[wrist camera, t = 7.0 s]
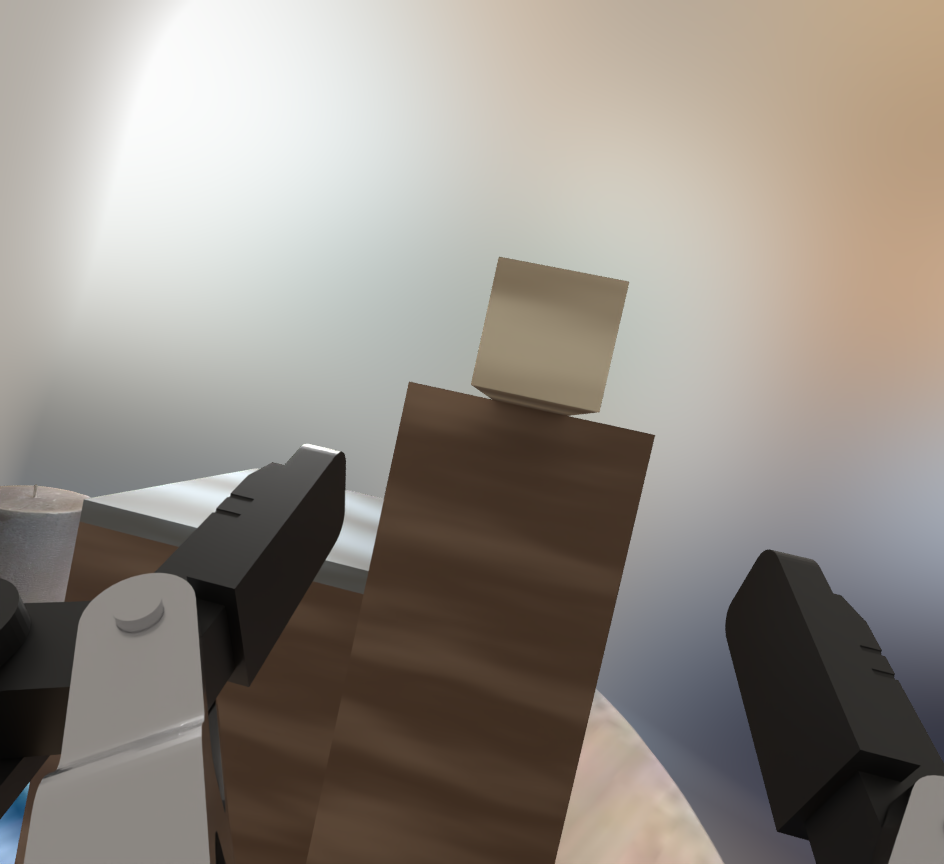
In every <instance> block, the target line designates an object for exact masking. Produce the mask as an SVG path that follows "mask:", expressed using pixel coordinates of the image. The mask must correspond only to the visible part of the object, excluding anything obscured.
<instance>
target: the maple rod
mask: <svg viewBox="0 0 944 864" xmlns="http://www.w3.org/2000/svg"><path fill="white" fill-rule="evenodd" d="M628 285H629V282H628V281H623V280H618V279H613V278H607V277H602V276H597V275H591V274H587V273H581V272H576V271H571V270H566V269H561V268H555V267H550V266H545V265H540V264H535V263H529V262H524V261H519V260H514V259H509V258H503V257H499V259H498V263H497V268H496V272H495V277H494V281H493V286H492V291H491V295H490V300H489V305H488V309H487V314H486V318H485V323H484V327H483V332H482V336H481V341H480V345H479V350H478V355H477V359H476V364H475V368H474V373H473V377H472V383H471V385H472V386H474V387H475V388H477V389H478V390H480V391H481V392H482V393H484V394H485V395H487V396H488V397H489V398H491V399H492V400H496V401H500V402H505V403H510V404H514V405H519V406H523V407H528V408H533V409H537V410H542V411H546V412H551V413H556V414H560V415H565V416H570V415H579V414H588V413H596V412H600V407H601V403H602V399H603V394H604V389H605V385H606V381H607V376H608V372H609V368H610V363H611V359H612V355H613V350H614V346H615V342H616V338H617V333H618V329H619V324H620V320H621V316H622V311H623V307H624V302H625V298H626V294H627V290H628Z"/></svg>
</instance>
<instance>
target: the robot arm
mask: <svg viewBox="0 0 944 864" xmlns="http://www.w3.org/2000/svg"><path fill="white" fill-rule="evenodd" d="M345 476H346V458H345V454H344V453H343V452H341V451H337V450H333V449H328V448H324V447H319V446H315V445H311V444H304V445H302V446H301V447H300V448H299V449H298V450H297V452H296V453H295V454H294V455H293V456H292V457H291V458H290V459H289V461H288V462H287V463H286V464H285V465H282V464H277V463H273V462H272V463H271V464H269V465H267V466H265V467H263V468H261V469H259V470H257V471H255V472H253V473H251V474H249V475H248V476H247V477H246V478H245V479H244V480H243V481H242V482H241V483H240V484H239V485H238V486H237V487H236V488H235V489H234V490H233V491H232V492H231V495H230V497H227V498H226V499H225V500H224V501H223V502H222V503H221V504H220V505H219V506H218V507H217V508H216V511H215V513H214V512H212V513H211V514H210V515H209V516H208V517H207V518H206V519H205V520H204V521H203V523H202V524H201V525H200V526H199V527H198V528H197V529H196V530H195V531H194V532H193V533H192V534H191V535H190V536H189V537H188V538H187V539H186V540H185V541H184V542H183V543H182V544H181V545H180V546H179V548H178V549H177V550H176V551H175V552H174V553H173V554H172V555H171V556H170V557H169V558H168V559H167V560H166V561H165V562H164V563H163V564H162V565H161V566H160V567H159V568H158V569H157V570H156V571H155V572H154V573H148V574H142V575H138V576H134V577H130V578H128V579H125V580H122V581H120V582H118V583H116V584H114V585H112V586H111V587H109V588H107V589H106V590H104V591H103V592H102V593H100V594H99V595H98V596H97V597H95V598H94V599H93V600H91V601H76V602H42V603H23V601H22V599H21V597H20V595H19V592H18V590H17V588H16V587H15V586H14V585H13V584H12V583H11V582H9V581H7V580H5V579H1V578H0V819H1V818H2V816H3V815H4V814H5V813H6V811H7V810H8V809H9V807H10V806H11V805H12V804H13V802H14V801H15V800H16V798H17V797H18V796H19V795H20V793H21V792H22V791H23V790H24V788H25V787H26V786H27V784H28V783H29V782H30V781H31V779H32V778H33V777H34V775H35V774H36V773H37V772H38V770H39V769H40V768H41V767H42V765H43V764H44V763H45V761H46V760H47V759H48V758H49V756H50V755H58V754H61V758H60V762H59V765H58V768H57V770H56V771H54V772H51V773H48V774H47V775H45V776H44V778H43V779H42V780H41V782H40V784H39V787H38V790H37V792H36V796H35V800H34V804H33V809H32V815H31V821H30V827H29V834H28V840H27V846H26V852H25V859H24V864H235V857H234V851H233V844H232V838H231V830H230V822H229V813H228V803H227V792H226V782H225V772H224V761H223V751H222V741H221V730H220V720H219V710H218V703H217V696H218V695H219V693H220V692H221V690H222V689H223V687H224V685H225V684H226V682H227V681H228V682H232V683H235V684H239V685H243V686H246V687H250V685H251V683H252V682H253V680H254V678H255V677H256V675H257V673H258V672H259V670H260V668H261V667H262V665H263V663H264V662H265V660H266V658H267V657H268V655H269V653H270V652H271V650H272V648H273V647H274V645H275V643H276V642H277V640H278V638H279V637H280V635H281V633H282V632H283V630H284V628H285V627H286V625H287V623H288V622H289V620H290V618H291V617H292V615H293V613H294V612H295V610H296V608H297V607H298V605H299V603H300V602H301V600H302V598H303V597H304V595H305V593H306V592H307V590H308V588H309V587H310V585H311V583H312V582H313V580H314V578H315V577H316V575H317V573H318V572H319V570H320V568H321V567H322V565H323V563H324V562H325V560H326V558H327V557H328V555H329V553H330V552H331V550H332V548H333V547H334V545H335V543H336V541H337V539H338V537H339V535H340V532H341V529H342V526H343V522H344V516H345V480H346V477H345ZM725 627H726V628H725V630H726V638H727V642H728V646H729V650H730V654H731V657H732V661H733V665H734V669H735V673H736V677H737V681H738V684H739V688H740V692H741V696H742V700H743V704H744V707H745V711H746V715H747V719H748V723H749V726H750V730H751V734H752V738H753V742H754V746H755V749H756V753H757V757H758V761H759V765H760V769H761V772H762V776H763V780H764V784H765V788H766V791H767V795H768V799H769V803H770V807H771V810H772V814H773V818H774V822H775V826H776V830H777V832H781V833H784V834H787V835H791V836H794V837H798V838H802V839H805V840H809V841H810V845H811V848H812V851H813V855H814V857H815V861H816V864H944V763H943V761H942V759H941V757H940V756H939V754H938V752H937V750H936V748H935V747H934V745H933V743H932V741H931V739H930V737H929V736H928V734H927V732H926V730H925V728H924V726H923V725H922V723H921V721H920V719H919V718H918V716H917V714H916V712H915V710H914V708H913V706H912V705H911V703H910V701H909V699H908V697H907V695H906V694H905V692H904V690H903V689H902V686H901V684H900V683H899V681H898V680H895V679H894V675H895V673H894V672H893V670H892V668H891V666H890V664H889V663H888V661H887V659H886V657H885V656H882V655H881V651H882V650H881V648H880V646H879V644H878V643H877V641H876V639H875V637H874V635H873V633H872V632H871V630H870V628H869V626H868V625H867V622H866V621H865V620H864V619H863V618H862V617H861V616H860V615H859V614H858V613H857V612H856V611H855V610H854V609H853V608H852V606H851V605H850V604H849V603H848V602H847V601H846V600H845V599H844V598H843V597H842V596H841V595H837V594H833V592H832V590H831V588H830V586H829V584H828V582H827V580H826V578H825V577H824V575H823V573H822V571H821V569H820V567H819V565H818V564H817V563H816V562H815V561H814V560H812V559H808V558H804V557H799V556H795V555H790V554H786V553H782V552H778V551H774V550H765V551H764V552H762V553H761V554H760V556H759V557H758V558H757V560H756V562H755V564H754V565H753V567H752V569H751V570H750V572H749V574H748V575H747V577H746V579H745V580H744V582H743V584H742V586H741V587H740V589H739V590H738V592H737V594H736V595H735V597H734V599H733V600H732V602H731V604H730V606H729V609H728V612H727V617H726V625H725Z"/></svg>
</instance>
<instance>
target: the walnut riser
mask: <svg viewBox="0 0 944 864" xmlns="http://www.w3.org/2000/svg"><path fill="white" fill-rule="evenodd" d="M654 437H655V435H652V434H648V433H643V432H639V431H634V430H629V429H625V428H620V427H615V426H611V425H606V424H602V423H597V422H592V421H588V420H583V419H578V418H574V417H569V416H565V415H560V414H556V413H551V412H546V411H542V410H537V409H533V408H528V407H523V406H519V405H514V404H510V403H505V402H500V401H496V400H491V399H486V398H482V397H477V396H473V395H468V394H463V393H459V392H454V391H450V390H445V389H441V388H436V387H431V386H427V385H422V384H417V383H413V382H409V384H408V389H407V394H406V398H405V403H404V408H403V413H402V417H401V422H400V426H399V431H398V436H397V440H396V445H395V450H394V454H393V459H392V464H391V468H390V473H389V478H388V482H387V487H386V492H385V497H384V499H383V498H378V497H374V496H370V495H366V494H362V493H358V492H353V491H349V490H345V516H344V522H343V526H342V529H341V532H340V535H339V537H338V539H337V541H336V543H335V545H334V547H333V548H332V550H331V552H330V553H329V555H328V557H327V558H326V560H325V562H324V563H323V565H322V567H321V568H320V570H319V572H318V573H317V575H316V577H315V578H314V580H313V582H312V583H311V585H310V587H309V588H308V590H307V592H306V593H305V595H304V597H303V598H302V600H301V602H300V603H299V605H298V607H297V608H296V610H295V612H294V613H293V615H292V617H291V618H290V620H289V622H288V623H287V625H286V627H285V628H284V630H283V632H282V633H281V635H280V637H279V638H278V640H277V642H276V643H275V645H274V647H273V648H272V650H271V652H270V653H269V655H268V657H267V658H266V660H265V662H264V663H263V665H262V667H261V668H260V670H259V672H258V673H257V675H256V677H255V678H254V680H253V682H252V683H251V685H250V687H246V686H243V685H239V684H235V683H232V682H228V681H227V682H226V684H225V685H224V687H223V689H222V690H221V692H220V693H219V695H218V696H217V703H218V710H219V720H220V730H221V741H222V751H223V761H224V772H225V782H226V792H227V803H228V813H229V822H230V830H231V838H232V844H233V851H234V857H235V864H555V860H556V855H557V851H558V847H559V843H560V838H561V834H562V830H563V826H564V821H565V817H566V813H567V808H568V804H569V800H570V796H571V791H572V787H573V783H574V779H575V774H576V770H577V766H578V762H579V757H580V753H581V749H582V744H583V740H584V736H585V732H586V727H587V723H588V719H589V715H590V710H591V706H592V702H593V698H594V693H595V689H596V685H597V680H598V676H599V672H600V668H601V663H602V659H603V655H604V651H605V646H606V642H607V638H608V633H609V629H610V625H611V621H612V616H613V612H614V608H615V603H616V599H617V595H618V591H619V586H620V582H621V578H622V574H623V569H624V565H625V561H626V557H627V552H628V548H629V544H630V540H631V535H632V531H633V527H634V522H635V518H636V514H637V510H638V505H639V501H640V497H641V493H642V488H643V484H644V480H645V476H646V471H647V467H648V463H649V459H650V454H651V450H652V446H653V442H654ZM257 470H259V469H257V468H256V469H251V470H244V471H239V472H234V473H228V474H222V475H217V476H211V477H205V478H200V479H195V480H189V481H183V482H177V483H172V484H166V485H161V486H155V487H150V488H144V489H138V490H133V491H127V492H121V493H116V494H110V495H105V496H99V497H94V498H88V499H84V500H83V506H82V511H81V516H80V522H79V527H78V532H77V537H76V543H75V548H74V553H73V558H72V564H71V569H70V574H69V580H68V585H67V590H66V595H65V601H64V602H76V601H91V600H93V599H94V598H95V597H97V596H98V595H99V594H100V593H102V592H103V591H104V590H106V589H107V588H109V587H111V586H112V585H114V584H116V583H118V582H120V581H122V580H125V579H128V578H130V577H134V576H138V575H142V574H148V573H154V572H155V571H156V570H157V569H158V568H159V567H160V566H161V565H162V564H163V563H164V562H165V561H166V560H167V559H168V558H169V557H170V556H171V555H172V554H173V553H174V552H175V551H176V550H177V549H178V548H179V546H180V545H181V544H182V543H183V542H184V541H185V540H186V539H187V538H188V537H189V536H190V535H191V534H192V533H193V532H194V531H195V530H196V529H197V528H198V527H199V526H200V525H201V524H202V523H203V521H204V520H205V519H206V518H207V517H208V516H209V515H210V514H211V513H212V512H214V513H215V511H216V508H217V507H218V506H219V505H220V504H221V503H222V502H223V501H224V500H225V499H226V498H227V497H230V495H231V492H232V491H233V490H234V489H235V488H236V487H237V486H238V485H239V484H240V483H241V482H242V481H243V480H244V479H245V478H246V477H247V476H248V475H249V474H251V473H253V472H255V471H257ZM60 758H61V754H58V755H50V756H49V758H48V759H47V760H46V761H45V763H44V764H43V765H42V767H41V768H40V769H39V770H38V772H37V773H36V774H35V775H34V777H33V778H32V779H31V781H30V785H29V791H28V796H27V801H26V806H25V812H24V817H23V822H22V828H21V833H20V838H19V843H18V849H17V854H16V859H15V864H24V859H25V852H26V846H27V840H28V834H29V827H30V821H31V815H32V809H33V804H34V800H35V796H36V792H37V790H38V787H39V784H40V782H41V780H42V779H43V778H44V776H45V775H47V774H48V773H51V772H54V771H56V770H57V768H58V765H59V762H60Z"/></svg>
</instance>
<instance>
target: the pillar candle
mask: <svg viewBox="0 0 944 864" xmlns="http://www.w3.org/2000/svg"><path fill="white" fill-rule="evenodd" d="M88 498H90V497H89V496H87V495H82V494H79V493H76V492H72V491H68V490H63V489H57V488H50V487H43V486H37V485H34V486H18V485H17V486H0V578H1V579H5V580H7V581H9V582H11V583H12V584H13V585H14V586H15V587H16V588H17V590H18V592H19V595H20V597H21V599H22V601H23V603H42V602H64V601H65V595H66V590H67V585H68V580H69V574H70V569H71V564H72V558H73V553H74V548H75V543H76V537H77V532H78V527H79V522H80V516H81V511H82V506H83V500H84V499H88Z"/></svg>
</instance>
